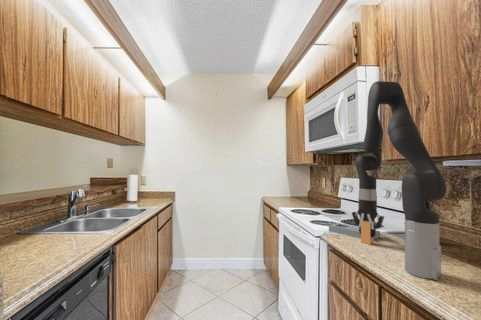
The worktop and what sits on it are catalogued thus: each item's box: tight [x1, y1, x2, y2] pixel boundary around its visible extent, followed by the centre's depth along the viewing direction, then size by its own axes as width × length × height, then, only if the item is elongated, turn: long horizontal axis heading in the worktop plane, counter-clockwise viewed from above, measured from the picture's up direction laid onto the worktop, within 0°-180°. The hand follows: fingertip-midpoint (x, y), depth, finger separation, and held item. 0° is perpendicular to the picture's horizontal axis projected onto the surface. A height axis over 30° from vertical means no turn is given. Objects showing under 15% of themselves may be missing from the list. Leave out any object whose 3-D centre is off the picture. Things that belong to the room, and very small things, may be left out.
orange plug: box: [360, 220, 375, 246], centre depth 113 cm, size 4×4×10 cm
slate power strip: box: [328, 216, 381, 241], centre depth 127 cm, size 22×10×10 cm, turn 40°
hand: (367, 235), depth 113 cm, fingers closed on orange plug, 4 cm apart
